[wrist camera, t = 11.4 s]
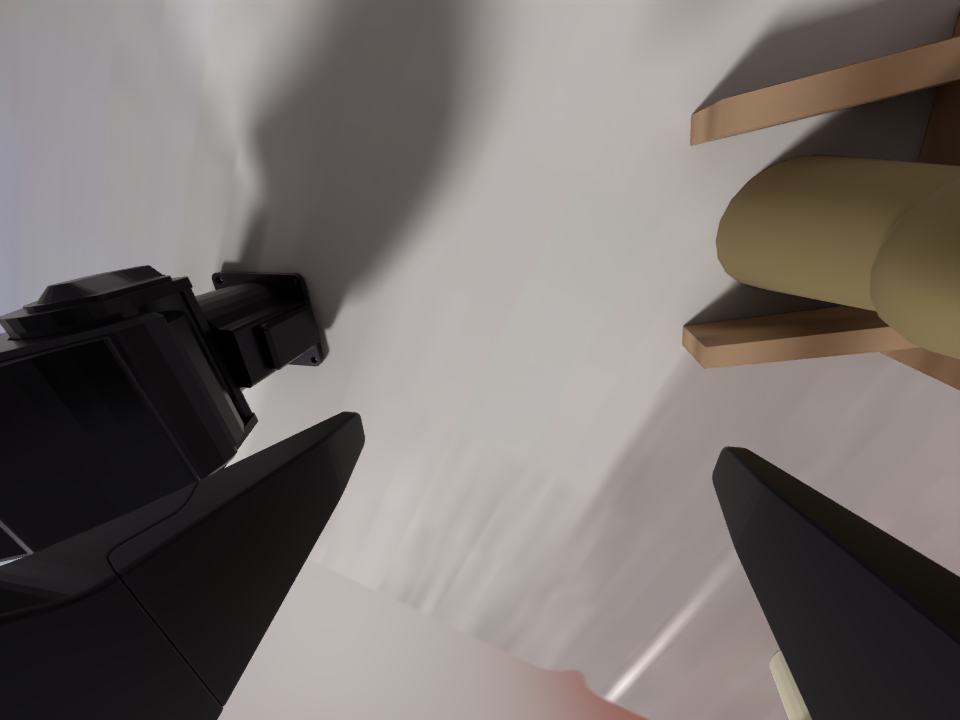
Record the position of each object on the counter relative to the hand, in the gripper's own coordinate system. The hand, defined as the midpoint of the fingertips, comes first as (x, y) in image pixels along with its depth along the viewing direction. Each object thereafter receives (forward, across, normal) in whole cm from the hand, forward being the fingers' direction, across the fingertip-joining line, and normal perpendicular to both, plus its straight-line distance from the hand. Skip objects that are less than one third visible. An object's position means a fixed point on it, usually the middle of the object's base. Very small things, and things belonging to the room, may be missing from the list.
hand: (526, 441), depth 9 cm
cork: (+13, -12, -4) cm, 18 cm away
